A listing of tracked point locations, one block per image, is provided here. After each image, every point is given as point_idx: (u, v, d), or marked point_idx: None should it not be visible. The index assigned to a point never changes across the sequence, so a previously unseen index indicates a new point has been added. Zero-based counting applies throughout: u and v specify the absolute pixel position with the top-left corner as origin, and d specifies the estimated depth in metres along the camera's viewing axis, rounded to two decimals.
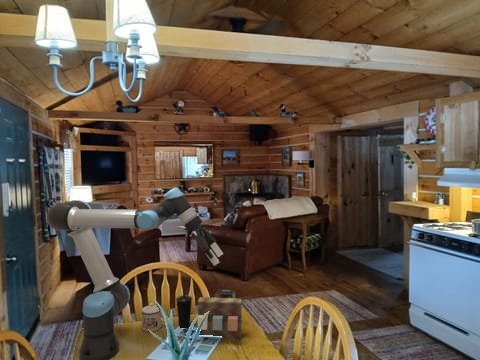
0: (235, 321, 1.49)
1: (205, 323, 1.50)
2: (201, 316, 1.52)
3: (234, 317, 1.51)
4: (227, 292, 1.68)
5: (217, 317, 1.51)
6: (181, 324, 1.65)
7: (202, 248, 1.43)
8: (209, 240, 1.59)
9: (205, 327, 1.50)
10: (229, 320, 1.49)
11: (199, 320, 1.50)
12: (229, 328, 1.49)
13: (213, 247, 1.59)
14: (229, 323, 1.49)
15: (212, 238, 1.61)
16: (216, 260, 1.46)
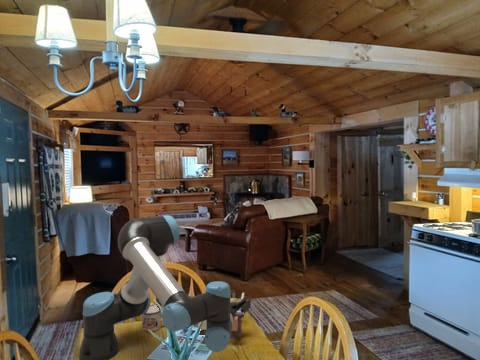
0: (235, 321, 1.49)
1: (205, 323, 1.50)
2: None
3: None
4: None
5: None
6: None
7: None
8: None
9: (205, 327, 1.50)
10: None
11: None
12: None
13: (241, 299, 1.37)
14: None
15: None
16: None
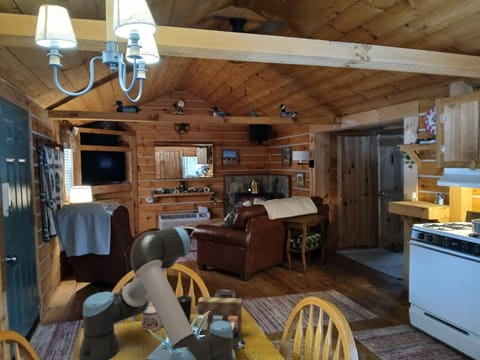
0: (235, 321, 1.49)
1: (205, 323, 1.50)
2: (201, 316, 1.52)
3: (234, 317, 1.51)
4: (227, 292, 1.68)
5: (217, 317, 1.51)
6: None
7: None
8: None
9: (205, 327, 1.50)
10: (229, 320, 1.50)
11: (199, 320, 1.50)
12: None
13: (231, 329, 1.44)
14: None
15: (237, 337, 1.40)
16: None
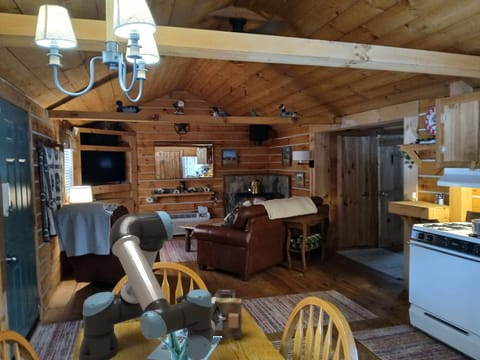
0: (236, 318, 1.52)
1: None
2: None
3: (235, 314, 1.54)
4: (227, 292, 1.68)
5: None
6: None
7: None
8: None
9: None
10: (230, 317, 1.52)
11: None
12: (230, 325, 1.52)
13: None
14: (230, 320, 1.52)
15: (218, 311, 1.35)
16: None
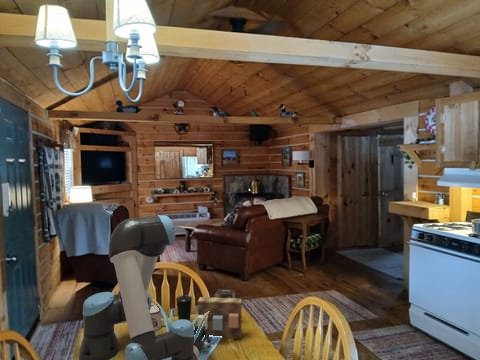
0: (236, 318, 1.52)
1: (205, 323, 1.50)
2: (201, 316, 1.52)
3: (235, 314, 1.54)
4: (227, 292, 1.68)
5: (217, 317, 1.51)
6: None
7: None
8: None
9: None
10: (230, 317, 1.52)
11: (199, 320, 1.51)
12: (230, 325, 1.52)
13: None
14: (230, 320, 1.52)
15: None
16: None
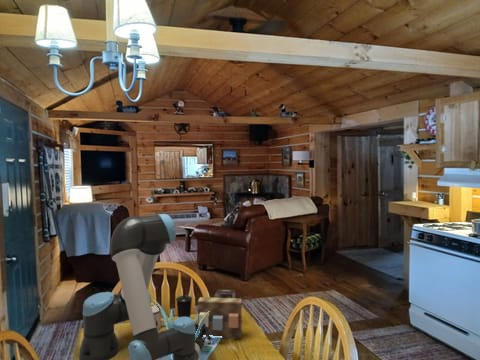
0: (236, 318, 1.52)
1: (206, 320, 1.53)
2: (202, 313, 1.55)
3: (235, 314, 1.54)
4: (227, 292, 1.68)
5: (217, 317, 1.51)
6: None
7: None
8: None
9: (206, 324, 1.53)
10: (230, 317, 1.52)
11: (200, 317, 1.53)
12: (230, 325, 1.52)
13: None
14: (230, 320, 1.52)
15: (205, 333, 1.43)
16: None
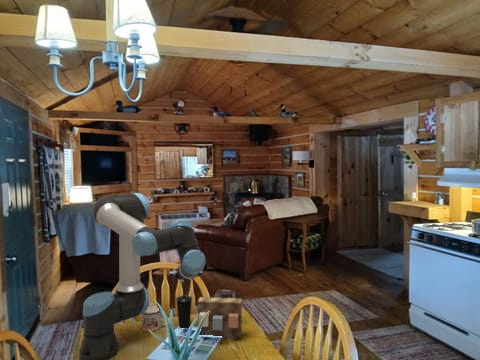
0: (236, 318, 1.52)
1: (206, 320, 1.53)
2: (202, 313, 1.55)
3: (235, 314, 1.54)
4: (227, 292, 1.68)
5: (217, 317, 1.51)
6: (181, 324, 1.65)
7: None
8: None
9: (206, 324, 1.53)
10: (230, 317, 1.52)
11: (200, 317, 1.53)
12: (230, 325, 1.52)
13: None
14: (230, 320, 1.52)
15: None
16: (179, 280, 1.49)
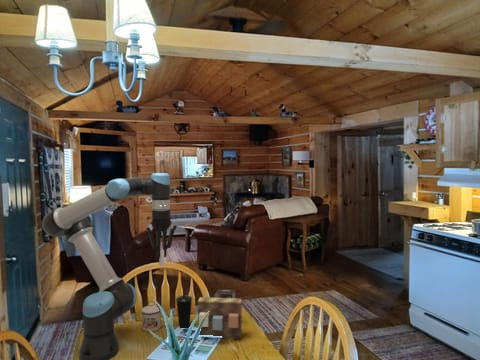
0: (236, 318, 1.52)
1: (206, 320, 1.53)
2: (202, 313, 1.55)
3: (235, 314, 1.54)
4: (227, 292, 1.68)
5: (217, 317, 1.51)
6: (181, 324, 1.65)
7: (152, 245, 1.48)
8: (163, 242, 1.50)
9: (206, 324, 1.53)
10: (230, 317, 1.52)
11: (200, 317, 1.53)
12: (230, 325, 1.52)
13: None
14: (230, 320, 1.52)
15: (168, 244, 1.50)
16: (160, 262, 1.49)
